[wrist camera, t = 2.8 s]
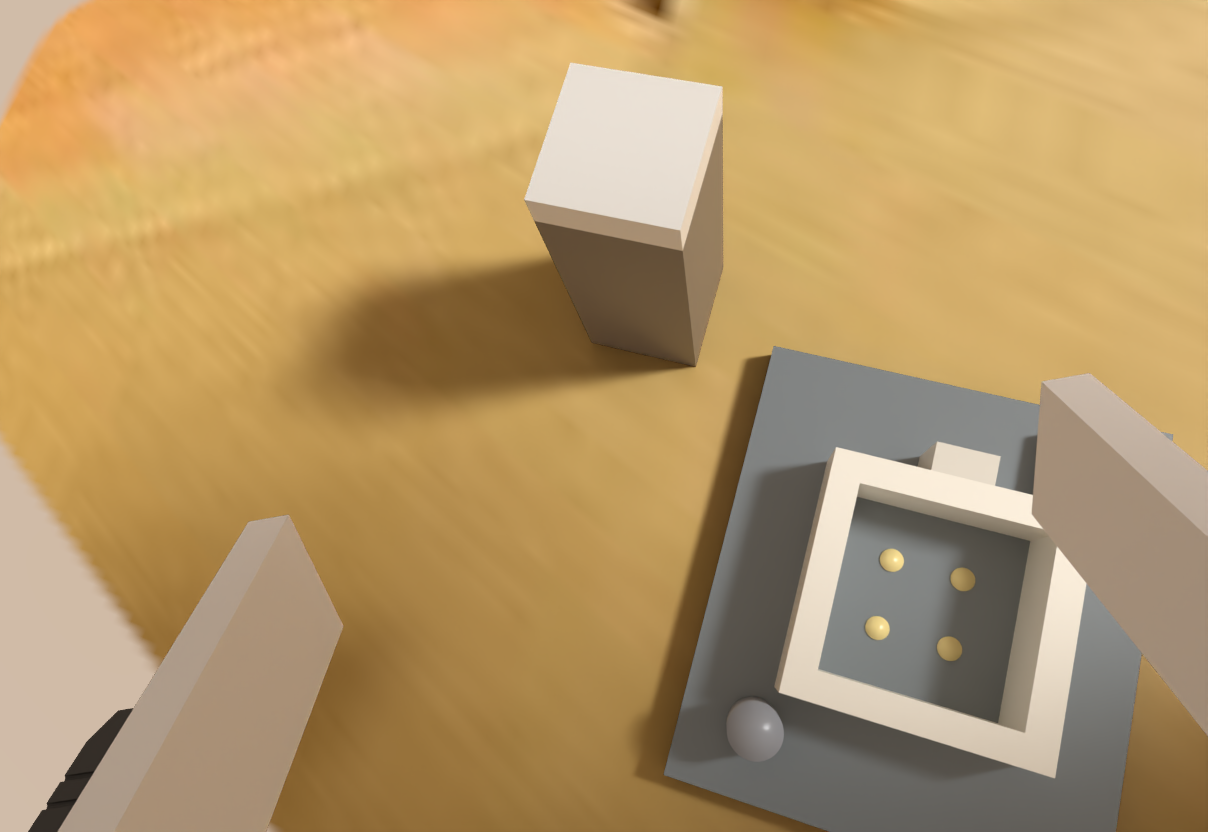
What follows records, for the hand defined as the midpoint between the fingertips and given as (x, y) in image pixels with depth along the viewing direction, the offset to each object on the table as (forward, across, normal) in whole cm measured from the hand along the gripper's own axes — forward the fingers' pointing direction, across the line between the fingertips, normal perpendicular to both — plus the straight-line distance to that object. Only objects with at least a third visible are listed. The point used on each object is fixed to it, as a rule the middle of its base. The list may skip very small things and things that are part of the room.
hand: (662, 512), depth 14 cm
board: (+10, +8, -13) cm, 18 cm away
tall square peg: (+19, +1, -4) cm, 20 cm away
